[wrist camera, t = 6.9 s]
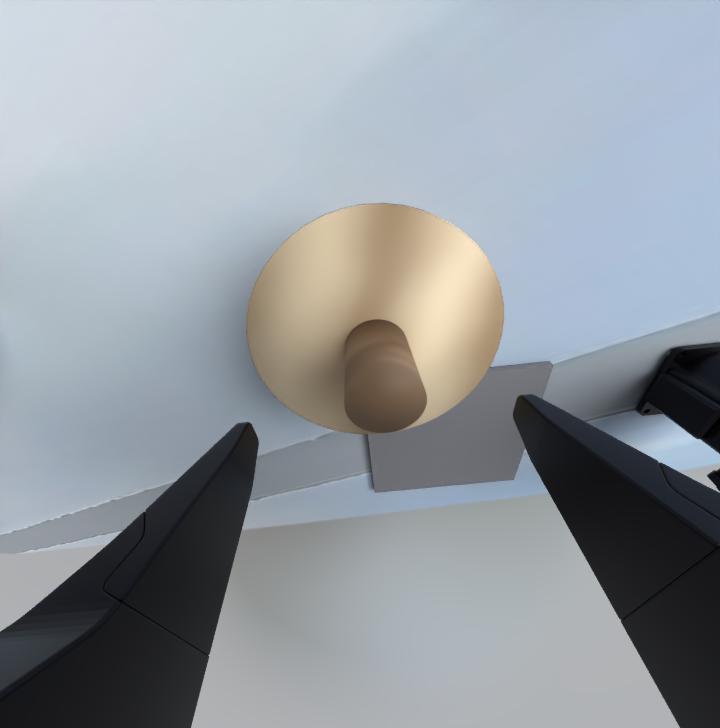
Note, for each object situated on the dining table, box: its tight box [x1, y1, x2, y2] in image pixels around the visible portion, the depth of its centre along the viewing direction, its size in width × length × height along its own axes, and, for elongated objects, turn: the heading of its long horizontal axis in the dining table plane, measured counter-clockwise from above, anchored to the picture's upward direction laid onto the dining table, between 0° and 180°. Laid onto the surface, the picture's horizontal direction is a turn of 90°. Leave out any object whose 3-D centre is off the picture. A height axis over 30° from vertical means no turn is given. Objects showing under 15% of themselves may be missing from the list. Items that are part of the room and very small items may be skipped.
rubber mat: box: [368, 361, 553, 493], centre depth 25 cm, size 14×14×1 cm
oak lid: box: [247, 203, 504, 434], centre depth 12 cm, size 12×12×5 cm
